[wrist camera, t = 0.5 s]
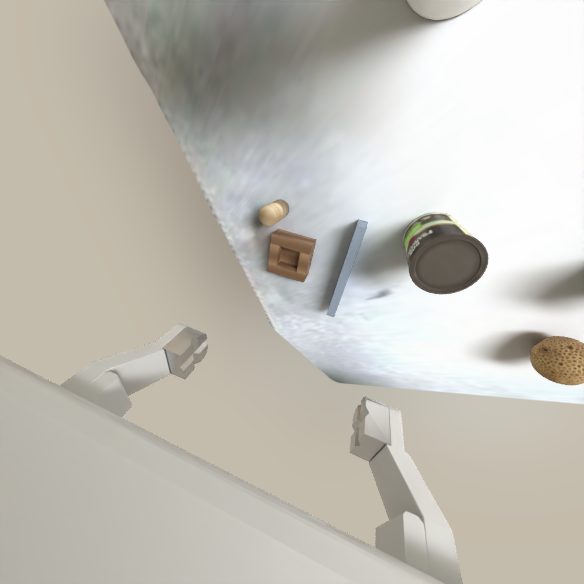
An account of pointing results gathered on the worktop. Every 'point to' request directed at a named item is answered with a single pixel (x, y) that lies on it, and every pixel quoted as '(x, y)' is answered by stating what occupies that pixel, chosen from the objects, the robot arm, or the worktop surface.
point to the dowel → (273, 212)
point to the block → (290, 254)
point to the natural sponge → (559, 360)
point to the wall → (347, 266)
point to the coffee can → (443, 254)
